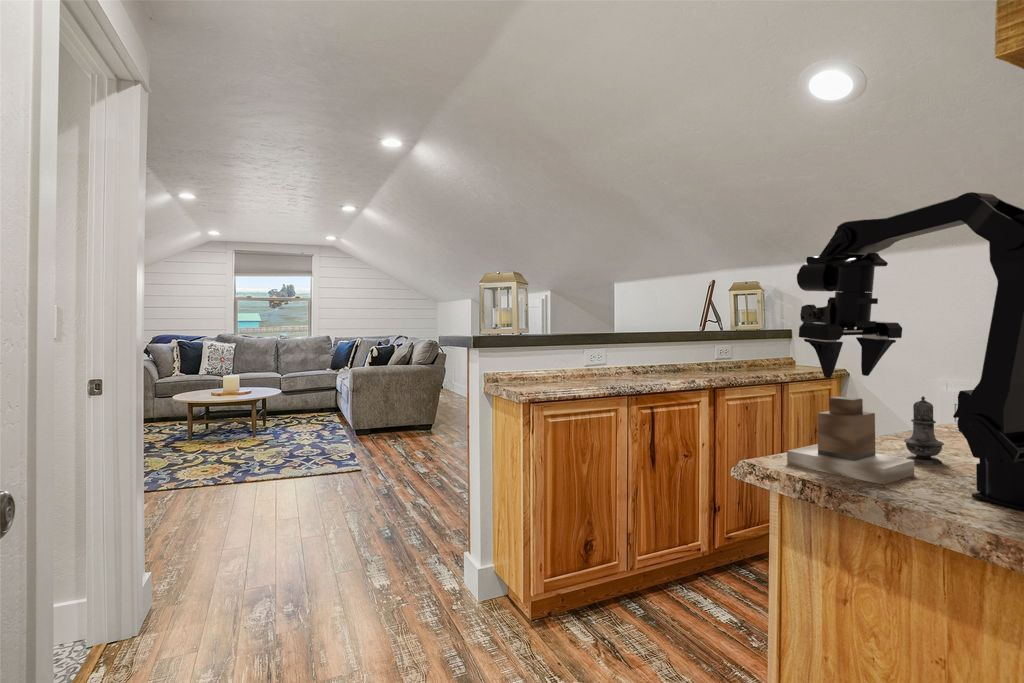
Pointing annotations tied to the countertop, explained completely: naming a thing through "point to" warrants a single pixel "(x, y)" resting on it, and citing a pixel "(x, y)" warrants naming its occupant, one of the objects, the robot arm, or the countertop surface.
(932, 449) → the salt shaker
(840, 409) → the brown square jar
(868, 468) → the board
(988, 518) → the countertop surface
